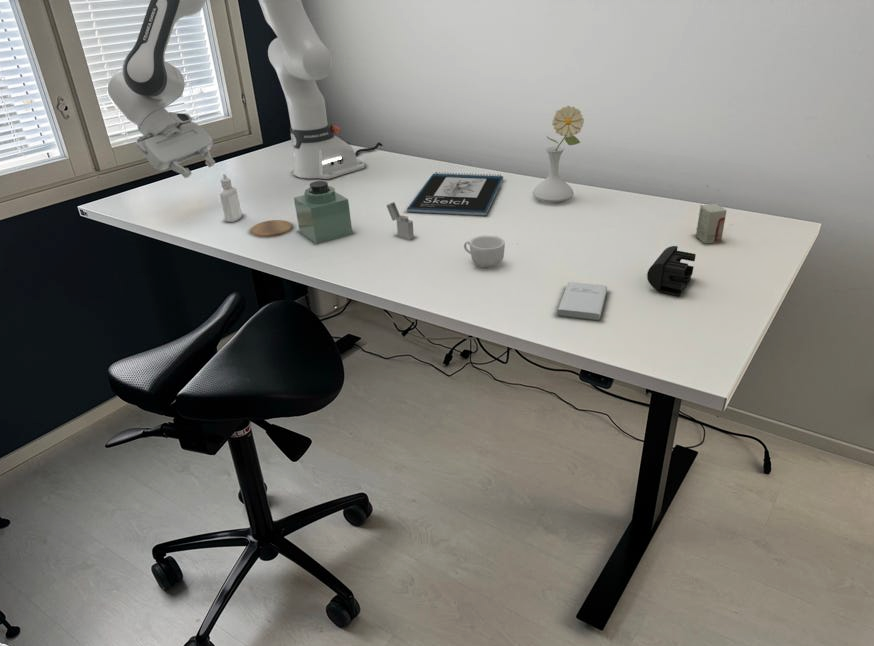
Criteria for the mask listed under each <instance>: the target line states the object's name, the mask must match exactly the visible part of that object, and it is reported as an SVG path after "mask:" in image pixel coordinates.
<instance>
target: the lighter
mask: <svg viewBox="0 0 874 646" xmlns="http://www.w3.org/2000/svg"><path fill="white" fill-rule="evenodd" d="M386 208H387V211H388V213H389V216H390V218H391V220H392V221H396V229H397V230H396V232H397V237H400V238H402V239H405V240H412V239H414V237H415V235H414V233H415V232H414V222H413V220H410V219H409V216H407V215H400V212H399V210H398V207H397V205H396V202H395V201H392V202H390V203H388V204H386Z"/></svg>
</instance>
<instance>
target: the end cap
mask: <svg viewBox="0 0 874 646" xmlns="http://www.w3.org/2000/svg"><path fill="white" fill-rule="evenodd" d="M678 249H679V248H678V245H671V246H668V247H667V248H665V249H663V251H662V252H661V253H660V255H659V256H657V258H656V260H655V261H654V262H653V263H652V264H651V266H649V268H648V270H647V274H646V277H647V278H646V279H647V282H648V283H649V285H650V286H651V287H652V288H653V289H655V291H657V292H658V293H661V294H666V295H670V296H673V297H681V295H682V294H683V292H684V291H685V290H686V288H687V286H688V285H689V284H690V282H691V280H692V275H693V273H694V267H695V266H693V265H689V263H687V262H682V260H684V261H688V262H695V261H696V255H697V254H696V253H693V252H687V251H682V250H678Z"/></svg>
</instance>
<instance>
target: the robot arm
mask: <svg viewBox="0 0 874 646" xmlns="http://www.w3.org/2000/svg"><path fill="white" fill-rule="evenodd" d="M205 3H206V0H150V1H149V4H148V6H147V9H146V13H145V15H144V18H143V21H142V24H141V28H140V30H139V33H138V36H137V40H136V42H135V44H134V46H133V48H131V50H130V51H129V53H128V54H127V55H126V57H125V58H124V60H123V62H122V66H121V67H122V68H121V70H119V71H116V72H115V73H114V74H113V75H112V76H111V77H110V79H109V81H108V82H107V86H106V87H107V88H106V93H107V96H108V98H109V99H110V101H111V103H112V104H113V105H114V106H115V107H116V108H117V110H118V111H119V112H120V113H121V114H122V116H123V117H124V118H125V119H127V120H128V121H130V122H131V123H133V125H135V127H136V129H137V130H138V132H139V133H140V134H141V135H142V136H139V137H137V138H136V141H135V146H136V147H137V148H138V149H139V151H141V153H142V155H143V156H144V157H145V158H146V160H147V161H148V163H150V165H151V167H153V168H154V169H156V170H157V171H159V172H161V171H164V170H167V169H171V170H172V171H173V172H175V173H177V174H180V175H181V176H182V177H183V178H184V179H187V178H189V177H191V175H192V171H191V170H190V169H189V168H188V167H184V166H182V165H180V164H181V163H183V162H185V161H187V160H190V159H193V158H195V157H197V156H201V157H202V158H204V160H205V162H204V164H205V165H206V166H207V167H208V168H211V167H214V166H215V164H216V160H214V159H213V158H212V154H211V152H210V150H211V149H212V147H213V145H214V141H213V139H212V137H211V136H210V135H209V133H208V132H206V131H205V129H204V128H203V127H201V125H199V124H198V123H197V122H194V121H193V117H192V116H191V115H190V114H189V113H183V112H182V113H181V112H173V111H168V110H167V109H166V108H167V107H169V106H170V105H171V104H173V103H174V102H175V101H176V100H178V99H179V98H181V96H182V95H183V93H184V90H185V78H184V76H183V74H182V71H180V70H179V69H178V68H177V67H176V66H175V65H172V64H170V63H169V62H167V61H166V59H165V54H166V52H167V51H166V50H167V48H168V45H169V40H170V39H171V35H172V33H173V29H174V27H175V26H176V23H177V22H178V21H179V20H181V19H182V18H184V17H189V16H194V15H196V14H198V13H199V12H200V11H202V9H203V7H204V6H205ZM258 3H259V6H260V8H261V11H262V15H263V17H264V20H265V22H266V23H267V24H268V26H269V27H270V28H271V29H272V31H273V33H274V34H275V35H276V38H274V39H273V40H271V42H270V44H269V45H268V49H267V56H268V60H269V62H270V64H271V66H272V67H273V68H274V71H275V72H276V74H277V78H278V80H279V83H280V86H281V89H282V91H283V94H284V97H285V101H286V105H287V110H288V116H289V121H290V128H289V130H290V140H291V143H292V147H293V159H294V160H293V161H294V163H293V172H292V175H294V176H295V177H297V178H300V179H320V180H321V179H322V180H330V179H335V178H337V177H340V176H343V175H346V174H349V173H352V172H356V171H359V170H363V169H364V168H366V167H365V163H364V162H363V160H361V159H360V158H358V155H359V153H362V152H371V151H375V150H376V149H378V148H379V147H383V143H381V142H379V141H378V142H377V143H376V144H375V146H373V147H366V148H360V149H357V150H356V151H355V150H354V148H353V147H352V145H351V144H350V142H349V141H348V142H346V141H344V140H343V139H341V138H339V137H338V136H337V135H335V134H339V133H340V132H341V128H340V127H339V126H337V125H332V124H330V123H328V116H327V110H326V109H327V108H326V101H325V98H324V95H323V94H322V92H321V91H320V89H319V86H318V84H317V81H320V80H323V79H325V78H326V77H328V76H329V75H330V73H331V71H332V68H333V57H332V54H331V52H330V50H329V48H327V46H326V45H325V44H324V43H323V42H322V40H321V38H320V37H319V35H318V33H317V32H316V29H315V27H314V25H313V24H312V22H311V20H310V18H309V16H308V15H307V13H306V11H305V8H304V5H303V1H302V0H258Z"/></svg>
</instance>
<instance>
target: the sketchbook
mask: <svg viewBox="0 0 874 646" xmlns="http://www.w3.org/2000/svg"><path fill="white" fill-rule="evenodd" d="M503 181H504V176H503V175H502V174H495V173H494V174H491V173H489V174H488V173H486V174H485V173H469V172H468V173H465V172H464V173H460V172H458V173H457V172H441V171H440V172H438V171H436V172H434V173H432V174H431V176H430V177H429V178H428V180H427V181H426V182H425V184H424V185H423V187H422V188H421V189H420V191H419V192H418V194H416V196H415V197H414V199H413V200H412V202H410V204H409V206H407V213H414V214H415V213H416V214H434V215H457V216H476V217H477V216H478V217H487V215H488V213H489V210H490V209H491V206H492V204H493V202H494V201H495V198H496V196H497V193H498V192H499V190H500V187H501V185H502V183H503Z"/></svg>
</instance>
